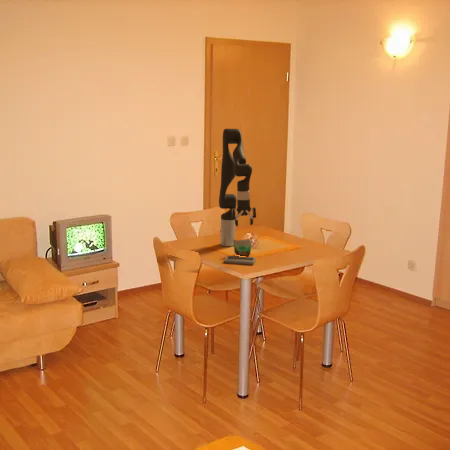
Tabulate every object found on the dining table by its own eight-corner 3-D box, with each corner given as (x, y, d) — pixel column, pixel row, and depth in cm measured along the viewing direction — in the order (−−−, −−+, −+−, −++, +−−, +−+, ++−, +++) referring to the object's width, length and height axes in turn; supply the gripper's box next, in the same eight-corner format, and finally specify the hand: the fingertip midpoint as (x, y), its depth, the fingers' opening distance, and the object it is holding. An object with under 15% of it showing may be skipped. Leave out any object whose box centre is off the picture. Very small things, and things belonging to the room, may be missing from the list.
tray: (227, 258, 365) (227, 255, 365) (255, 260, 363) (255, 257, 362) (224, 263, 356) (224, 260, 355) (253, 265, 353) (253, 262, 353)
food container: (234, 257, 368) (234, 241, 365) (232, 255, 373) (232, 239, 371) (254, 257, 370) (255, 241, 368) (252, 254, 376) (252, 238, 374)
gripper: (253, 196, 363) (254, 223, 367) (230, 198, 360) (230, 225, 364) (256, 198, 356) (257, 226, 359) (232, 200, 353) (233, 227, 357)
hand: (244, 225), depth 362 cm, fingers open, 8 cm apart
